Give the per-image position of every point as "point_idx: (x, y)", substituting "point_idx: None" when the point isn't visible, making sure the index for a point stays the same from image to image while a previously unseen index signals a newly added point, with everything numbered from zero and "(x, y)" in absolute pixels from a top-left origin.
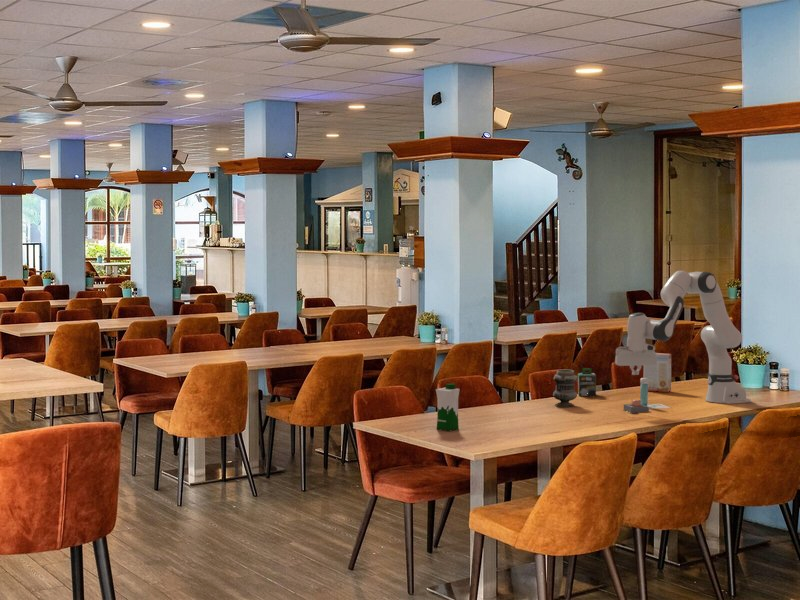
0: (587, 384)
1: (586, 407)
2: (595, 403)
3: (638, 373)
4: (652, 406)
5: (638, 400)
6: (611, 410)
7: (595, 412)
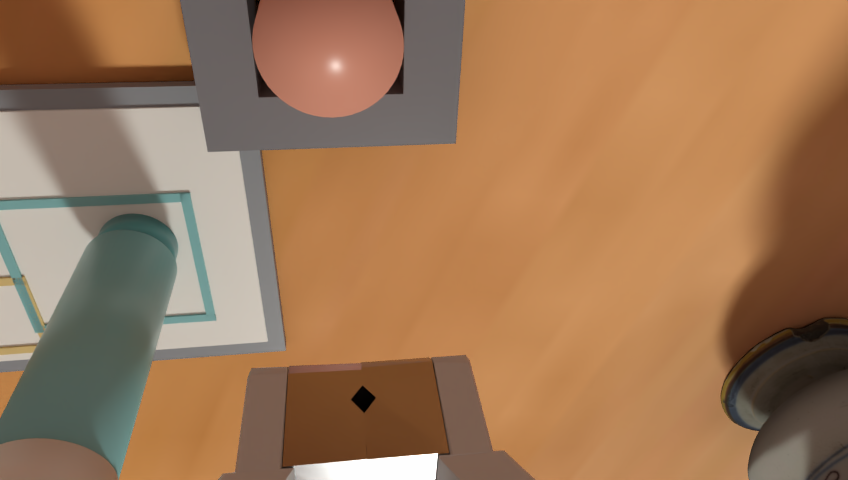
0: None
1: (692, 303)
2: (515, 440)
3: (267, 394)
4: (29, 234)
5: (292, 35)
6: (570, 133)
7: (806, 43)
